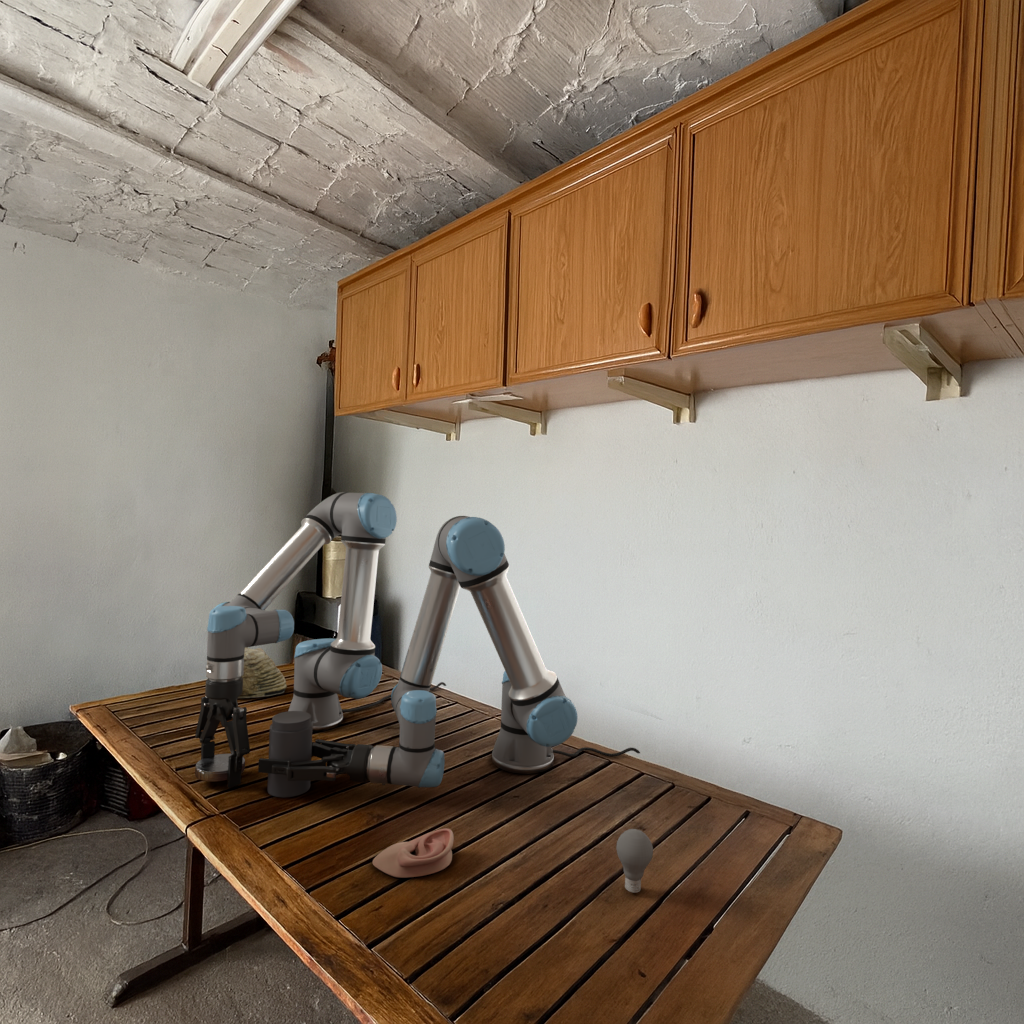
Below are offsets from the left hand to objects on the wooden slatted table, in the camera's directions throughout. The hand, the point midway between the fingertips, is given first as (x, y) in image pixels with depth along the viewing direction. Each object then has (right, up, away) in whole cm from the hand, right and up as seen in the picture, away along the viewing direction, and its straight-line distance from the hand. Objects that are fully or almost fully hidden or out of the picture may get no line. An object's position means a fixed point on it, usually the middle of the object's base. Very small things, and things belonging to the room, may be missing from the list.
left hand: (220, 778), depth 139 cm
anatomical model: (+47, -3, -28) cm, 55 cm away
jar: (+16, -1, -2) cm, 16 cm away
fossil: (-16, +1, +59) cm, 61 cm away
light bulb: (+84, -5, -34) cm, 91 cm away
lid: (0, +3, 0) cm, 3 cm away
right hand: (+12, +6, -2) cm, 13 cm away
